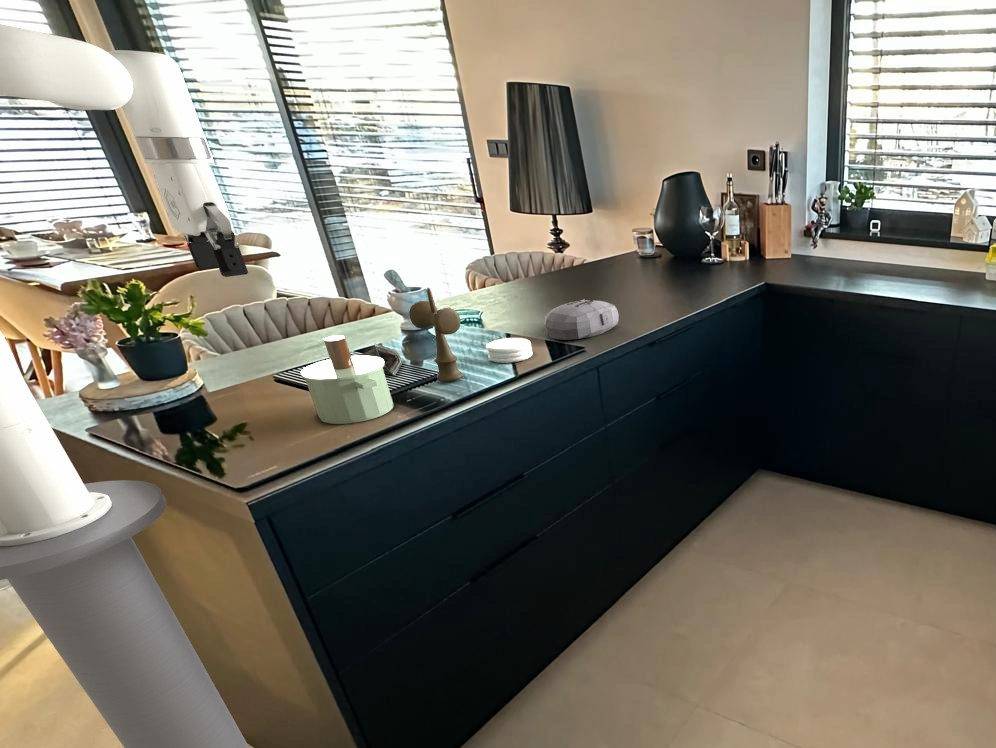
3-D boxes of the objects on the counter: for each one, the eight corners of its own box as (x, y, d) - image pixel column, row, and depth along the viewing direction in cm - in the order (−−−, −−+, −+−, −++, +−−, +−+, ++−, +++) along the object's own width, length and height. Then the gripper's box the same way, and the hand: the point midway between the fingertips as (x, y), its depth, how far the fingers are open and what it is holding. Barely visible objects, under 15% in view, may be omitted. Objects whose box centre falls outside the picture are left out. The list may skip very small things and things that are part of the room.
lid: (323, 390, 109) (311, 353, 106) (289, 375, 115) (276, 340, 112) (399, 369, 119) (390, 336, 116) (364, 356, 125) (354, 324, 122)
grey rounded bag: (586, 320, 181) (532, 337, 165) (582, 291, 177) (527, 306, 161) (627, 327, 175) (576, 346, 159) (624, 297, 172) (571, 313, 156)
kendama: (451, 371, 141) (429, 282, 132) (476, 380, 136) (455, 288, 127) (424, 379, 136) (400, 286, 127) (450, 388, 132) (427, 293, 123)
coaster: (486, 353, 152) (483, 340, 151) (529, 348, 157) (527, 335, 155) (490, 366, 145) (487, 351, 143) (536, 360, 149) (533, 346, 147)
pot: (346, 433, 112) (331, 388, 108) (300, 410, 120) (285, 368, 116) (413, 411, 121) (401, 369, 117) (367, 392, 129) (354, 352, 125)
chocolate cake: (369, 364, 145) (336, 340, 133) (400, 353, 146) (369, 329, 135) (380, 399, 143) (347, 378, 131) (411, 387, 144) (381, 366, 132)
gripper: (121, 149, 92) (171, 268, 99) (164, 153, 84) (215, 282, 91) (186, 149, 97) (229, 261, 105) (232, 153, 89) (275, 274, 97)
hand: (222, 271), depth 98 cm, fingers open, 9 cm apart
